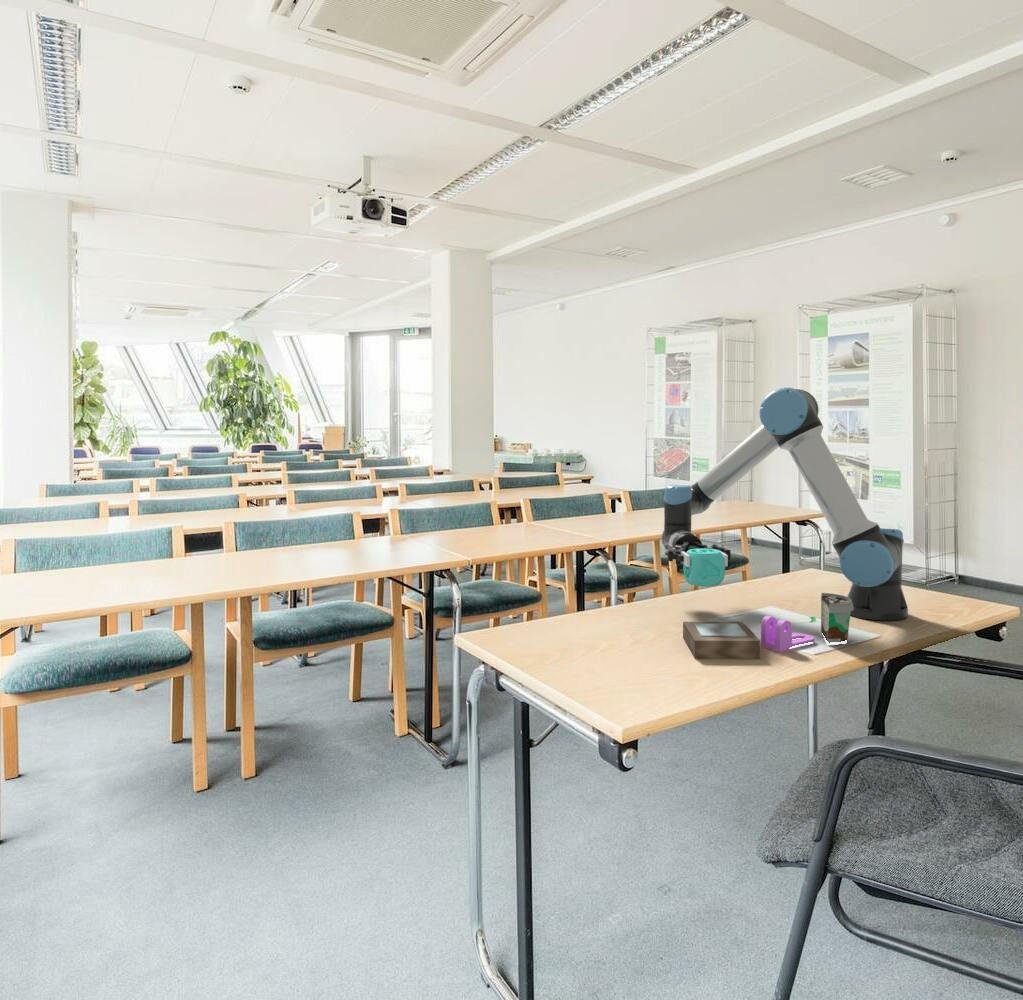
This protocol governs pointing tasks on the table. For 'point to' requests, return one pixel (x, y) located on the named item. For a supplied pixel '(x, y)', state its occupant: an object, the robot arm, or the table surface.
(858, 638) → the table surface
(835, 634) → the food container
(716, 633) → the plinth
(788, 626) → the bracket
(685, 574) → the decorative dice
